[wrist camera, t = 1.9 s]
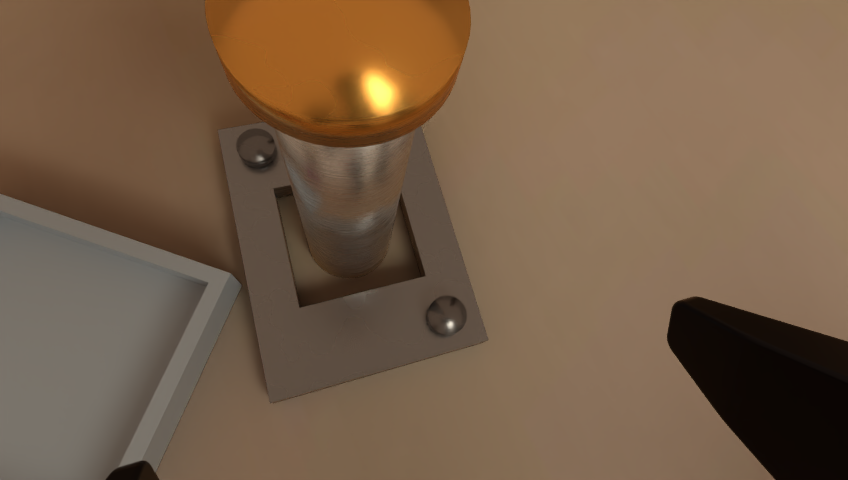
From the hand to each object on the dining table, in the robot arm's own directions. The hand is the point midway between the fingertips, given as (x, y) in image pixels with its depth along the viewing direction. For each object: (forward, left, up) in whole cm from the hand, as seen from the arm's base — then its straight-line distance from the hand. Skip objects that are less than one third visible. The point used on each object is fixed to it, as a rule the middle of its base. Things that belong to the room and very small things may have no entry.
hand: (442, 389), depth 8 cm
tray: (-3, +13, -13) cm, 19 cm away
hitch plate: (+6, +4, -13) cm, 15 cm away
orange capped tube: (+6, +4, -13) cm, 15 cm away
